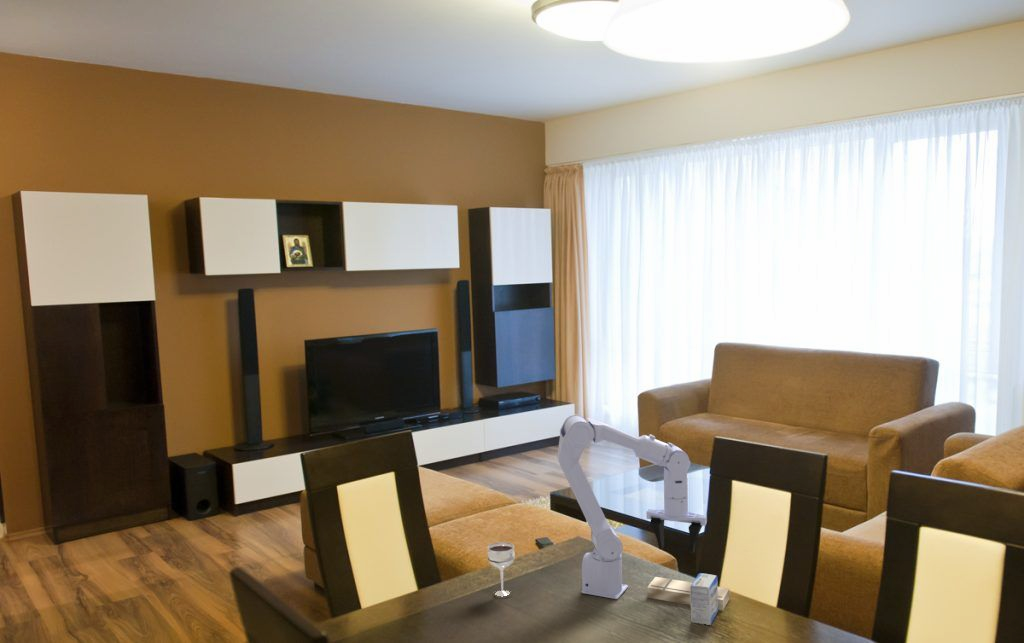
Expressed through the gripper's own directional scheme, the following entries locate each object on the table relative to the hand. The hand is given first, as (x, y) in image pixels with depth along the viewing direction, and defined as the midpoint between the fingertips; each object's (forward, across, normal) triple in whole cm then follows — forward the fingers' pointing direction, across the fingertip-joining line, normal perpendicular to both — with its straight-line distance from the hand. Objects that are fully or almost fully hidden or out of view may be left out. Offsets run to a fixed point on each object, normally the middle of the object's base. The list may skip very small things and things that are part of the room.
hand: (676, 550), depth 189 cm
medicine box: (+10, +10, -14) cm, 19 cm away
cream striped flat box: (+9, +4, -5) cm, 11 cm away
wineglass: (+10, -38, -20) cm, 44 cm away
